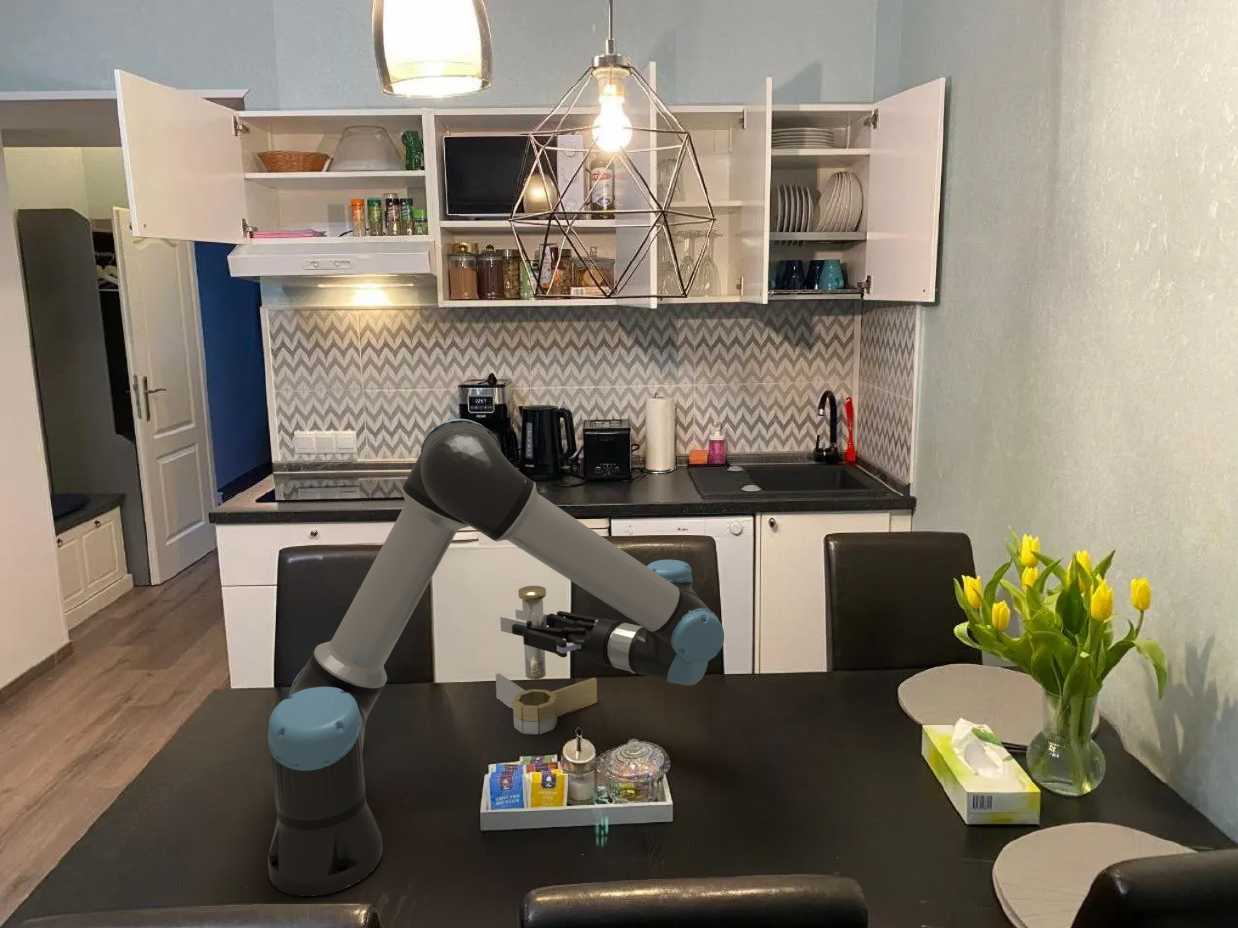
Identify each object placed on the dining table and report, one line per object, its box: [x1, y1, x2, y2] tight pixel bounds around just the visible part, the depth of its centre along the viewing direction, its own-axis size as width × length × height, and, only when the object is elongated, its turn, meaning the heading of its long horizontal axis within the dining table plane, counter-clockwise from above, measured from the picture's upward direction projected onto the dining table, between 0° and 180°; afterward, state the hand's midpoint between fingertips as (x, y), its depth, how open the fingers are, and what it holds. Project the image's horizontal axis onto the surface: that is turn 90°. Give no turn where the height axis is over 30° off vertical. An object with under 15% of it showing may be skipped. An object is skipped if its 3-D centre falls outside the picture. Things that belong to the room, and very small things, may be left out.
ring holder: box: [495, 672, 598, 735], centre depth 165 cm, size 14×20×5 cm
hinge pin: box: [517, 585, 547, 680], centre depth 159 cm, size 5×5×16 cm
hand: (509, 619), depth 162 cm, fingers closed on hinge pin, 4 cm apart
